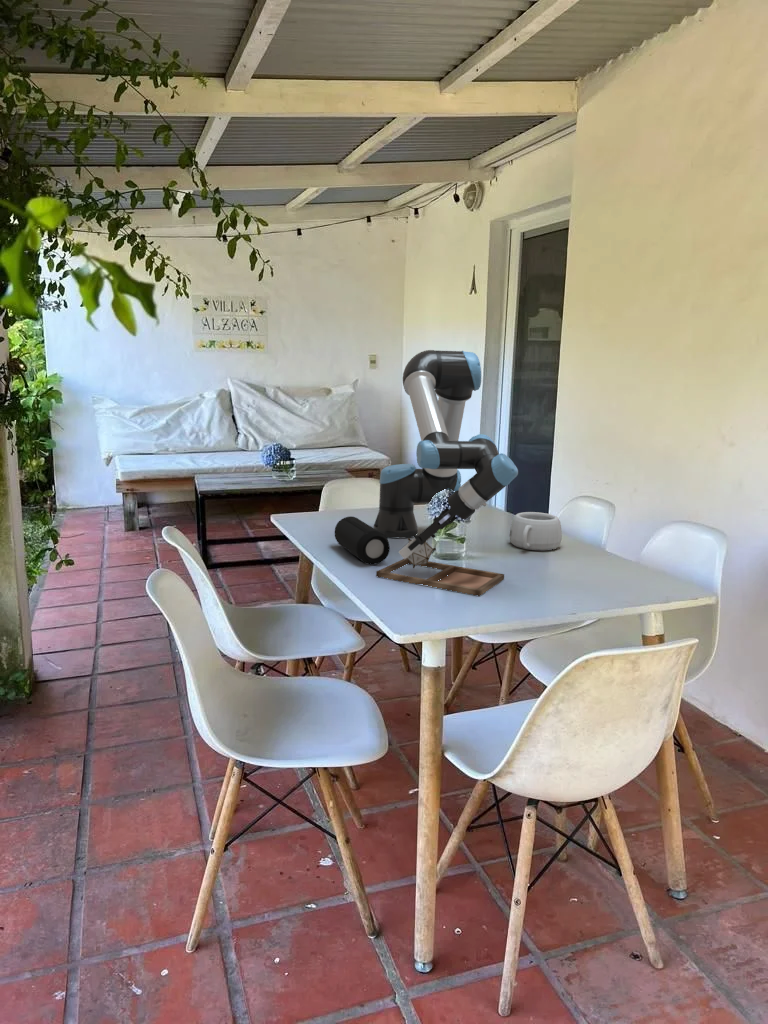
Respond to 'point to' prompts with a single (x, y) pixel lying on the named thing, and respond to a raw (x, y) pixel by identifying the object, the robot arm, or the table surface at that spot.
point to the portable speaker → (362, 540)
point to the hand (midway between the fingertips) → (406, 551)
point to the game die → (421, 554)
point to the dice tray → (448, 577)
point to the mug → (536, 531)
